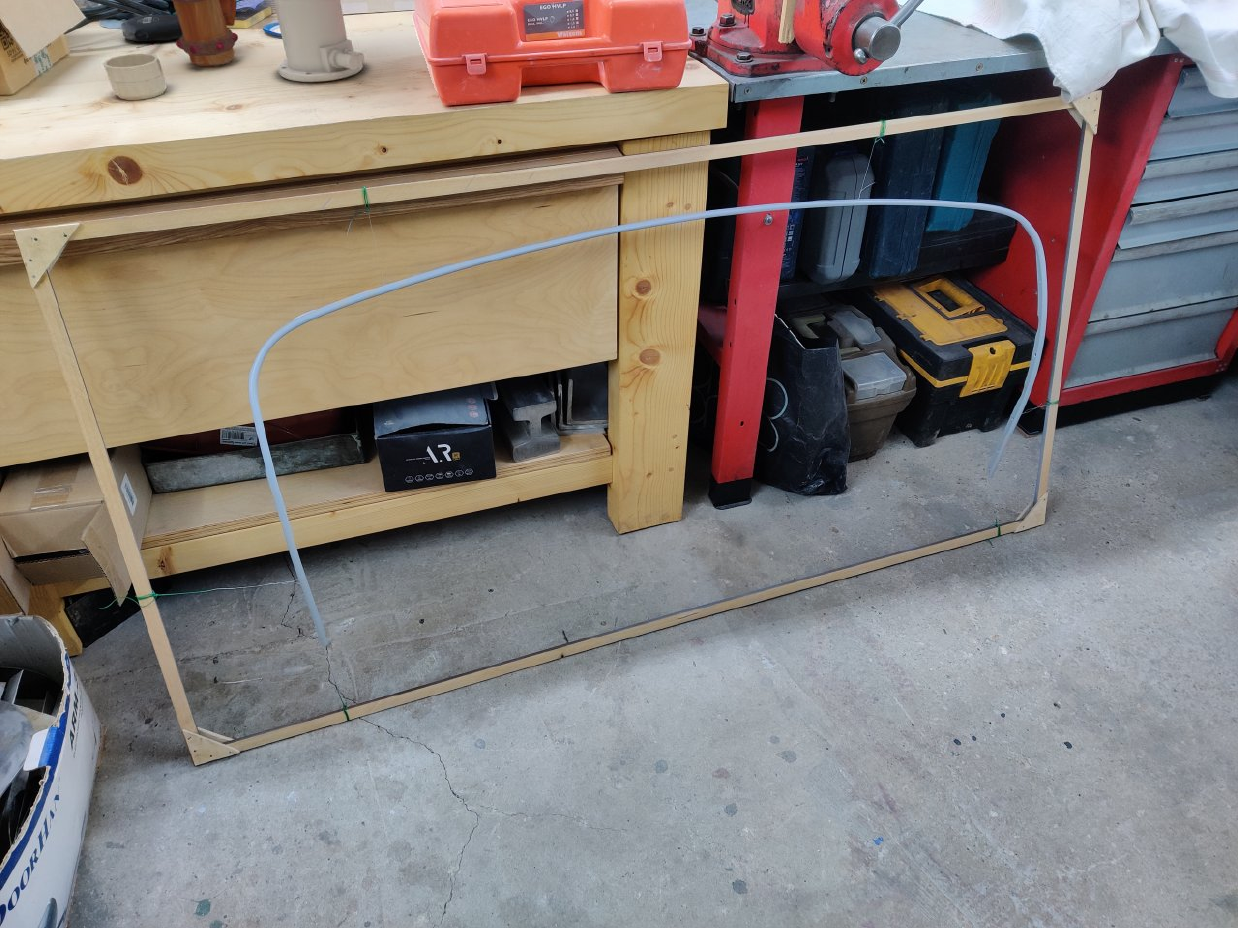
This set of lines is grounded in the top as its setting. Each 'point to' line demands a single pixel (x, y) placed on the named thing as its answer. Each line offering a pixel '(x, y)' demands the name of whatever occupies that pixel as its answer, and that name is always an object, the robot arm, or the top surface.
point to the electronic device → (152, 28)
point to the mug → (207, 30)
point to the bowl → (135, 76)
